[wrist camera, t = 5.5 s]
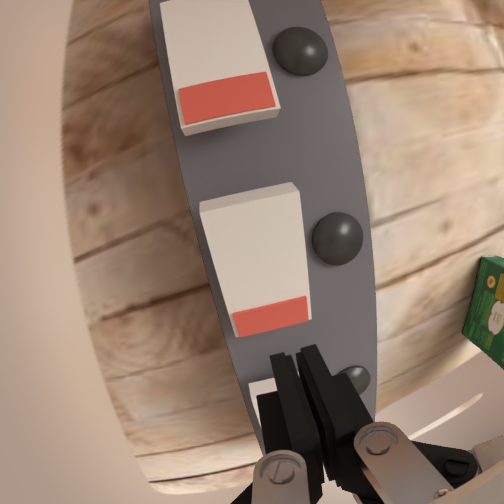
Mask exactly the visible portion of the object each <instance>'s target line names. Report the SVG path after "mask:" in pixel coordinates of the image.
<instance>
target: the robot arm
mask: <svg viewBox="0 0 504 504" xmlns="http://www.w3.org/2000/svg"><path fill="white" fill-rule="evenodd" d="M300 351H301V352H298V353H296V360H297V366H298V372H299V375H298V372H297V369H296V367H295V364H294V361H293V358H292V356H291V354H290V355H286V356H285V353H284V352H282V353H278V354H273V355H269V357H270V362H271V366H272V370H273V375H274V379H275V383H276V388H277V391H273V392H269V393H264V394H260V395H256V399H257V405H258V411H259V417H260V423H261V429H262V435H263V441H264V447H265V453H266V455H264V456H263V457H262V458H261V459H259V461H258V462H257V464H256V465H255V468H254V473H253V482H252V483H251V484H250V485H249V486H248V487H247V488H246V489H245V490H244V491H243V492H242V493H241V494H240V495H239V496H238V497H237V498H236V499H235V500H234V501H233V502H232V503H231V504H316V503H317V502H318V501H319V499H320V498H321V497H322V495H323V494H322V486H321V484H322V483H325V482H324V471H323V465H324V467H325V471H326V474H327V477H328V479H329V481H332V480H335V481H336V484H337V487H339V486H341V488H342V490H345V491H348V492H351V493H352V494H353V497H354V499H355V500H356V502H357V503H358V504H504V434H503V435H501V436H498V437H496V438H494V439H492V440H489V441H486V442H483V443H481V444H478V445H476V446H474V447H473V448H472V449H471V450H468V451H465V450H462V449H456V448H449V447H442V446H437V445H431V444H426V443H421V442H416V441H411V440H409V439H408V437H407V436H406V435H405V434H404V433H403V432H402V431H401V430H400V429H399V428H398V427H397V426H396V425H394V424H391V423H388V422H374V421H373V419H372V417H371V416H370V414H369V412H368V410H367V408H366V407H365V405H364V403H363V401H362V400H361V398H360V396H359V394H358V392H357V391H356V389H355V387H354V385H353V384H352V382H351V380H350V378H349V376H348V375H347V373H345V372H344V373H340V374H337V375H334V376H332V375H331V373H330V371H329V369H328V367H327V365H326V363H325V361H324V359H323V357H322V355H321V353H320V351H319V349H318V347H317V346H316V344H313V345H309V346H305V347H302V348H300Z"/></svg>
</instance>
